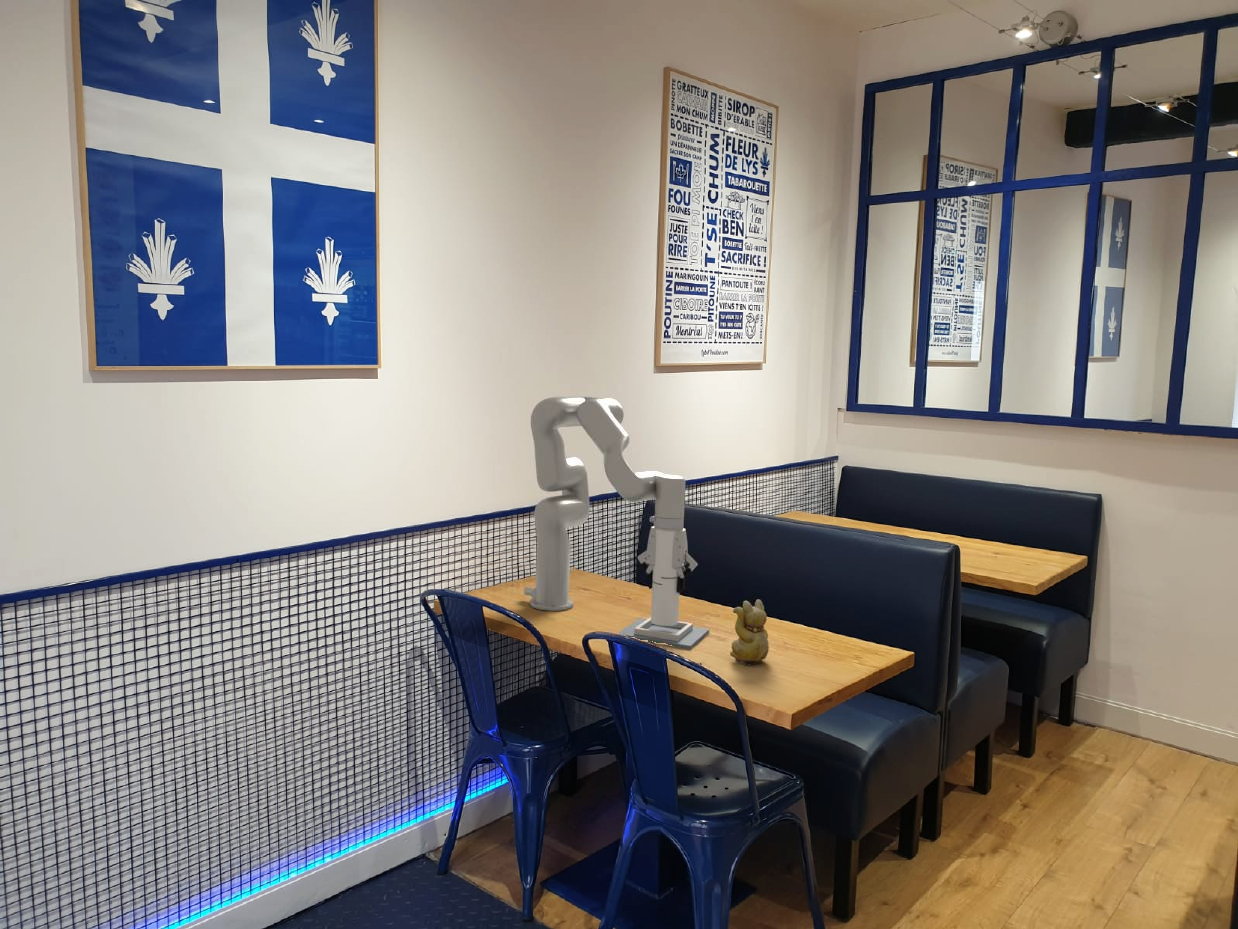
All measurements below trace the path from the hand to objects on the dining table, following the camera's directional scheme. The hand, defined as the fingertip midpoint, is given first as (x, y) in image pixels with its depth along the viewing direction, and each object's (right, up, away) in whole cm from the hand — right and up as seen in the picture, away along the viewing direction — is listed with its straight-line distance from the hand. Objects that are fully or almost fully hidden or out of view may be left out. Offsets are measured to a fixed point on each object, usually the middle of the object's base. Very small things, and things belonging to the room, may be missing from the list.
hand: (665, 589), depth 246 cm
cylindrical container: (0, -9, +1) cm, 9 cm away
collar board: (-1, -12, +2) cm, 12 cm away
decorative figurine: (+20, -16, -17) cm, 30 cm away
